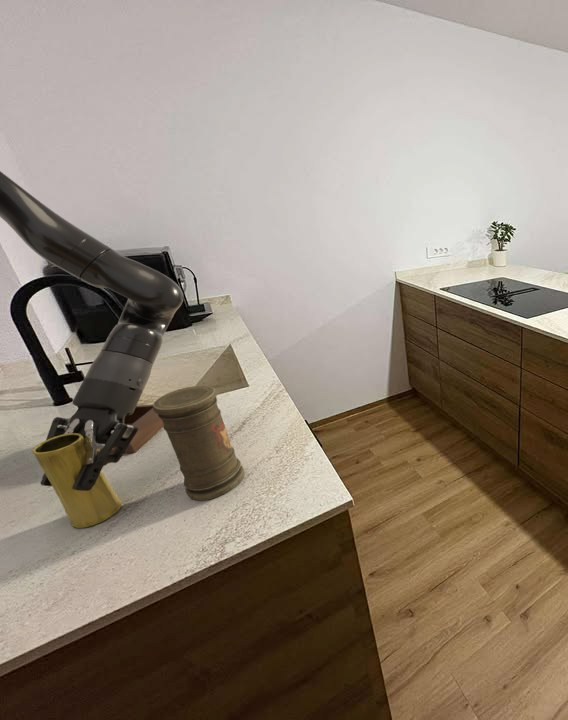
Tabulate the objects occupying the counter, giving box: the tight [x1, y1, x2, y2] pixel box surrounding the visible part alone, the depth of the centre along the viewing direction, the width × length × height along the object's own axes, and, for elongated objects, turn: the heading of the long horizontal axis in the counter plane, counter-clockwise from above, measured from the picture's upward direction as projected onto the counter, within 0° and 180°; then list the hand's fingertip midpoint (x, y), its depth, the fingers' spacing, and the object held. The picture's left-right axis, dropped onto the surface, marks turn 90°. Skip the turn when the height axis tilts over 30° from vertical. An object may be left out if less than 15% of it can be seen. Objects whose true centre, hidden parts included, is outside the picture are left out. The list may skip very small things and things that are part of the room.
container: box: [152, 385, 245, 501], centre depth 65 cm, size 9×9×18 cm
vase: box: [32, 433, 123, 529], centre depth 59 cm, size 6×6×14 cm
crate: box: [96, 403, 164, 456], centre depth 80 cm, size 12×12×5 cm
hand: (65, 487), depth 57 cm, fingers closed on vase, 5 cm apart
